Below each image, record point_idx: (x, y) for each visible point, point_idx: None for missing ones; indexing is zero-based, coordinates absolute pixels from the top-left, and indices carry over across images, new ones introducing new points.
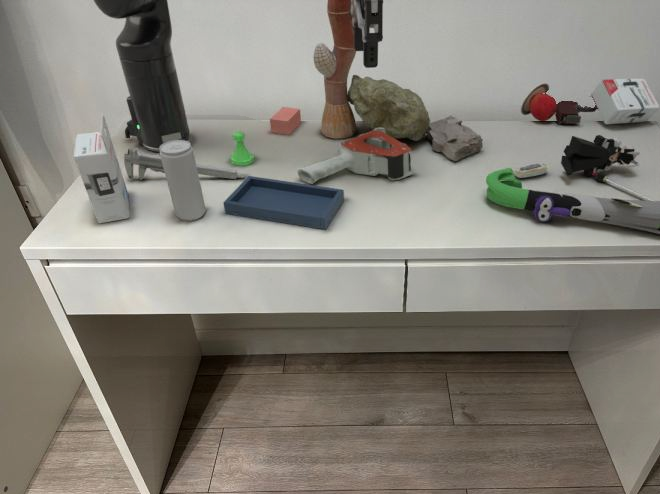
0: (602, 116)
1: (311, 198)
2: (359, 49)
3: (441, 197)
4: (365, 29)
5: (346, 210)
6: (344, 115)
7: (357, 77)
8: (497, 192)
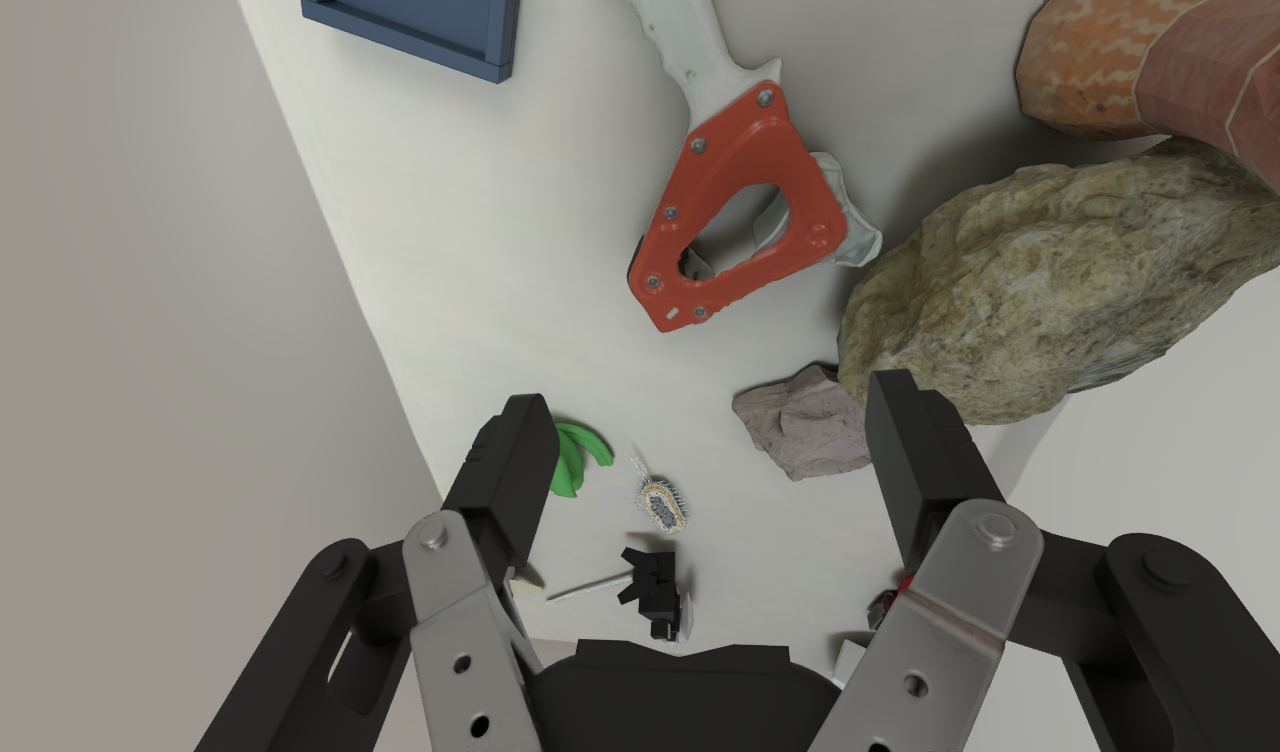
0: (861, 649)
1: None
2: (869, 397)
3: (562, 341)
4: (318, 622)
5: (454, 86)
6: (1085, 97)
7: (1256, 229)
8: None
